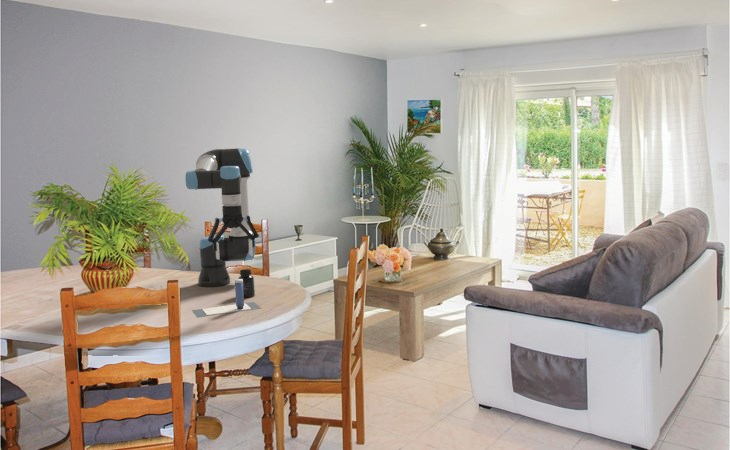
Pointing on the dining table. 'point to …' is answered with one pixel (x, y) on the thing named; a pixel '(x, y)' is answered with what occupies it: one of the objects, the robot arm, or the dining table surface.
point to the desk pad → (202, 314)
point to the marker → (239, 293)
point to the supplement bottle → (247, 283)
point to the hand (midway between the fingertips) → (234, 257)
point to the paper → (224, 309)
